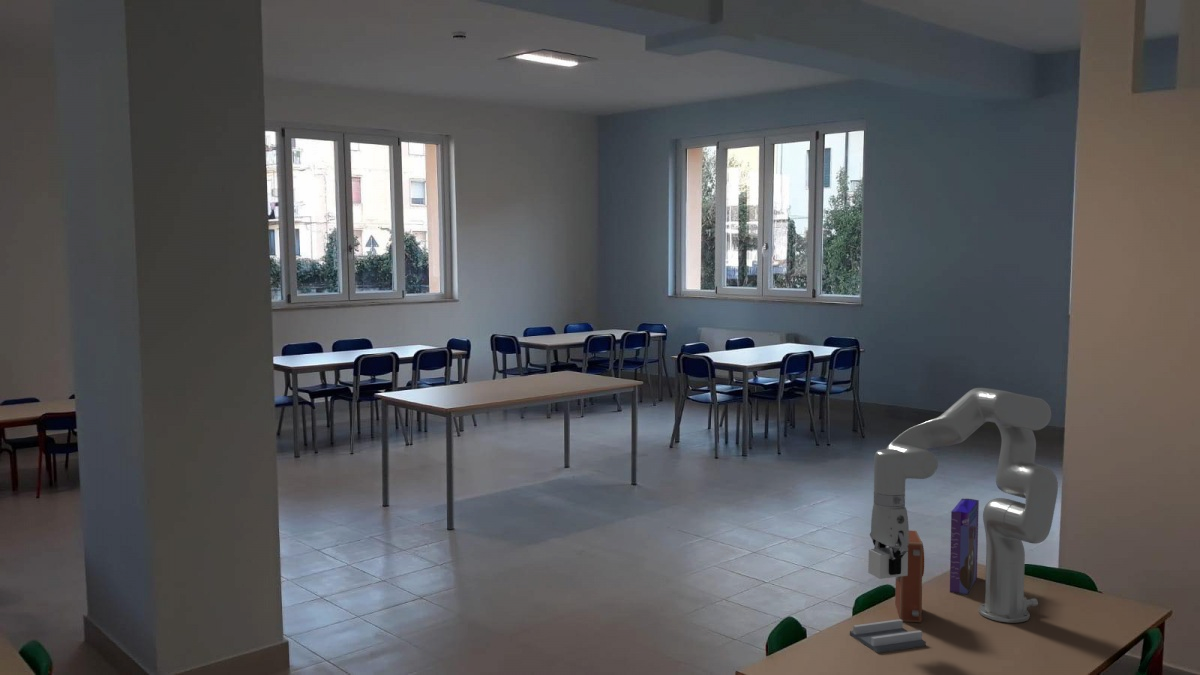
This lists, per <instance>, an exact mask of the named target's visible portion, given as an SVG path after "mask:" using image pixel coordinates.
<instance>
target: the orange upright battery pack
mask: <svg viewBox="0 0 1200 675" xmlns="http://www.w3.org/2000/svg"><path fill="white" fill-rule="evenodd" d="M895 545H896V546H897V544H895ZM907 547H908V576H900V577H895V590H894V591H895V596H894V597H895V598H894V600H895V601H894V602H895V608H896V611H897V614H898V617H899V619H901V620H903V622H907V623H908V622H909V623H922V616H923V615H922V614H923V608H922V607H923V606H922V605H923V577H924V575H925V574H924V573H925V549H924V544H923V541H922V540H921V538H920V536H919V533H918V532H917V530H910V529H909V545H908V546H907Z"/></svg>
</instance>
